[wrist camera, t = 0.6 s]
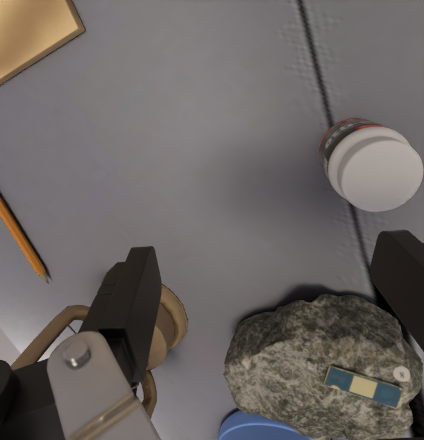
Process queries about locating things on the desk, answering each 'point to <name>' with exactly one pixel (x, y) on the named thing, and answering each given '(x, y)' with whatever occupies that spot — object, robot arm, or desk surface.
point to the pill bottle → (370, 164)
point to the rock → (326, 369)
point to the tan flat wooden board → (33, 31)
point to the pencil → (22, 241)
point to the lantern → (161, 342)
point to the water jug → (256, 428)
